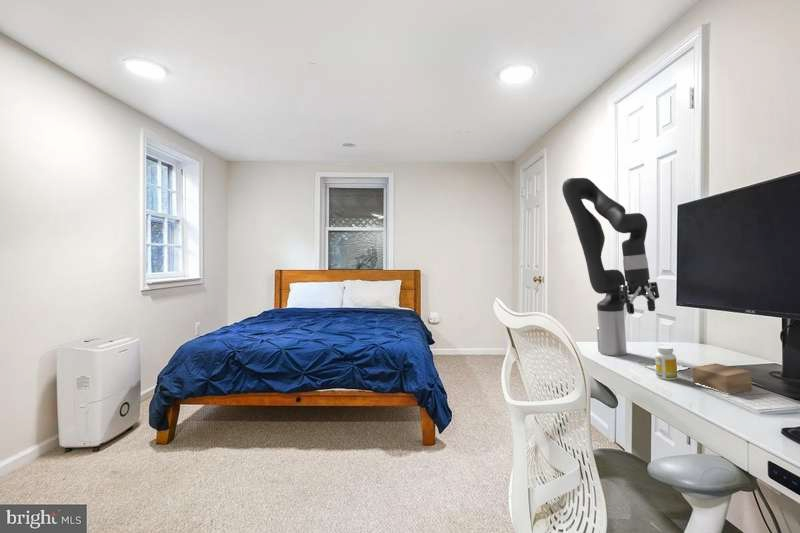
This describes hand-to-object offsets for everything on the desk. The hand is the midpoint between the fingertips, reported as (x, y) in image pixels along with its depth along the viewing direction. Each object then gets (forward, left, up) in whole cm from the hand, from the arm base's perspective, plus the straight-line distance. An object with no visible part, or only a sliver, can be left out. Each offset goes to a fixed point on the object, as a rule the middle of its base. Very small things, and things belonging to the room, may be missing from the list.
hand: (641, 312), depth 133 cm
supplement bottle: (+16, -9, -18) cm, 26 cm away
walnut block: (+28, -4, -18) cm, 34 cm away
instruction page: (+9, 0, -18) cm, 20 cm away
